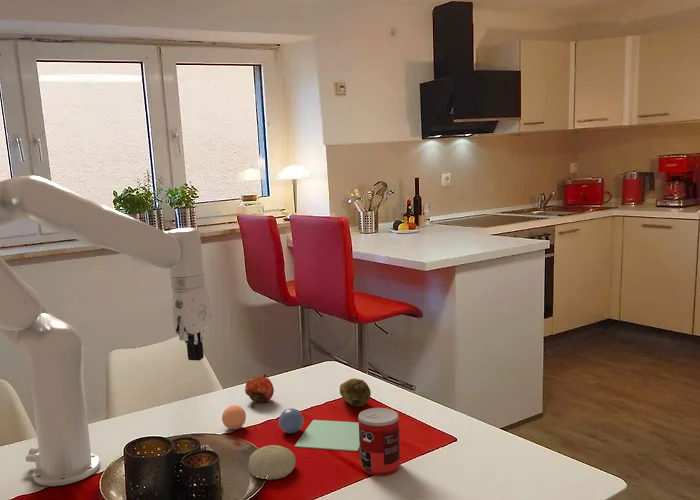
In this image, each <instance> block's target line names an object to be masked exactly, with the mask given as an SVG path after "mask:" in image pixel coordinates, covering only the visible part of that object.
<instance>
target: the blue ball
mask: <svg viewBox="0 0 700 500" xmlns="http://www.w3.org/2000/svg"><path fill="white" fill-rule="evenodd" d="M278 424H279V427H280V428H281V430H282V431H283V432H284V433H286V434H295V433H297V432H298V431H300V430H301V429H302V427H303V425H304V417H303V415H302V412H301V411H299V410H298V409H296V408H290V407H289V408H286V409H285V410H283V411H282V412H281V414H279V418H278Z"/></svg>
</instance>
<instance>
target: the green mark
mask: <svg viewBox="0 0 700 500" xmlns="http://www.w3.org/2000/svg"><path fill="white" fill-rule="evenodd" d="M294 448H305V449H306V448H308V449H320V450H334V451H347V452H358V451H359V450H360V444H359V422H356V421H355V422H354V421H352V422H351V421H339V420H324V419H323V420H322V419H321V420H320V419H313V420H312V421H311V422H310V423H309V425H308V426H307V428H306V429H305V431H304V432H303V434H302V435H301V436H300V438H299V439H298V440H297V442H296V443H295V445H294Z"/></svg>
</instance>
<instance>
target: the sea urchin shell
mask: <svg viewBox="0 0 700 500" xmlns="http://www.w3.org/2000/svg"><path fill="white" fill-rule="evenodd" d="M294 468H296V457H295V454H294V452H293V451H292V450H291V449H289V448H286V447H284V446H281V445H277V444H275V445H274V444H270V445H265V446H262V447H260V448H258V449H256V450H254V451H253V452H252V453H251V454H250V456H249V459H248V469H249V472H250V473H251V472H252V473H251V474H254V475H255V476H258V477H260V476H261V477H262V476H266V475H268V477H267V481H271V480H278V479H283V478H285V477H287V476H288V475H289V474H291V473H292V471H294ZM254 475H253V476H254ZM255 476H254V477H255Z"/></svg>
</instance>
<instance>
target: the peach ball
mask: <svg viewBox="0 0 700 500" xmlns="http://www.w3.org/2000/svg"><path fill="white" fill-rule="evenodd" d="M245 411H246V410H245V409H244V407H242V406H239V405H237V404H232V405H230V406H227V407H226V408H225V409H224V410H223V412H222V415H221V421H222V423H223V425H224V426H225V428H227V429H229V430H238V429H240V428H241V427H243V425H244V424H245V423H246V420H247V414H246V412H245Z"/></svg>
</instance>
